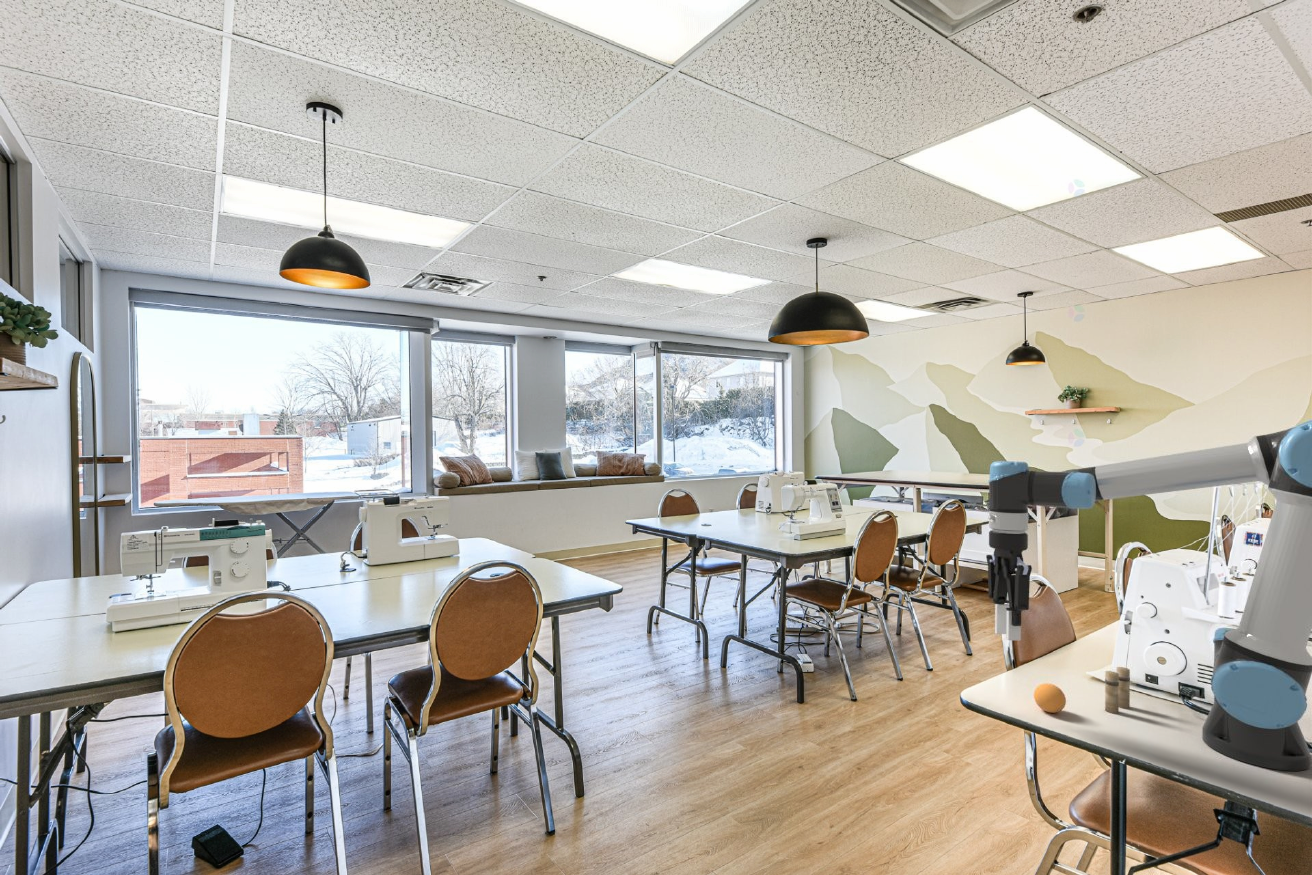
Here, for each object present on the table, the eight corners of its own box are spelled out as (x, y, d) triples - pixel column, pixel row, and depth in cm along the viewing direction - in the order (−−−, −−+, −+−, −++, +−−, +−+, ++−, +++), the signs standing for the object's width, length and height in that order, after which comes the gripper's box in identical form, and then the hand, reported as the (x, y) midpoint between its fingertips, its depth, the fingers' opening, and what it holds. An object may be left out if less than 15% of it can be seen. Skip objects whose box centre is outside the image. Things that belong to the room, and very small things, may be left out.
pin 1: (1119, 711, 139) (1119, 672, 139) (1118, 714, 137) (1118, 675, 137) (1105, 707, 140) (1105, 669, 140) (1104, 711, 138) (1104, 673, 139)
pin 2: (1130, 706, 141) (1130, 668, 141) (1129, 709, 139) (1129, 671, 140) (1116, 703, 143) (1116, 665, 143) (1115, 706, 141) (1115, 668, 141)
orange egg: (1067, 710, 139) (1068, 683, 139) (1063, 719, 134) (1063, 691, 134) (1036, 703, 143) (1036, 676, 143) (1031, 711, 138) (1031, 684, 138)
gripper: (971, 525, 147) (971, 625, 147) (1013, 536, 130) (1013, 649, 130) (1003, 525, 147) (1002, 625, 147) (1049, 536, 130) (1049, 649, 130)
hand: (1007, 636), depth 138 cm, fingers open, 4 cm apart
